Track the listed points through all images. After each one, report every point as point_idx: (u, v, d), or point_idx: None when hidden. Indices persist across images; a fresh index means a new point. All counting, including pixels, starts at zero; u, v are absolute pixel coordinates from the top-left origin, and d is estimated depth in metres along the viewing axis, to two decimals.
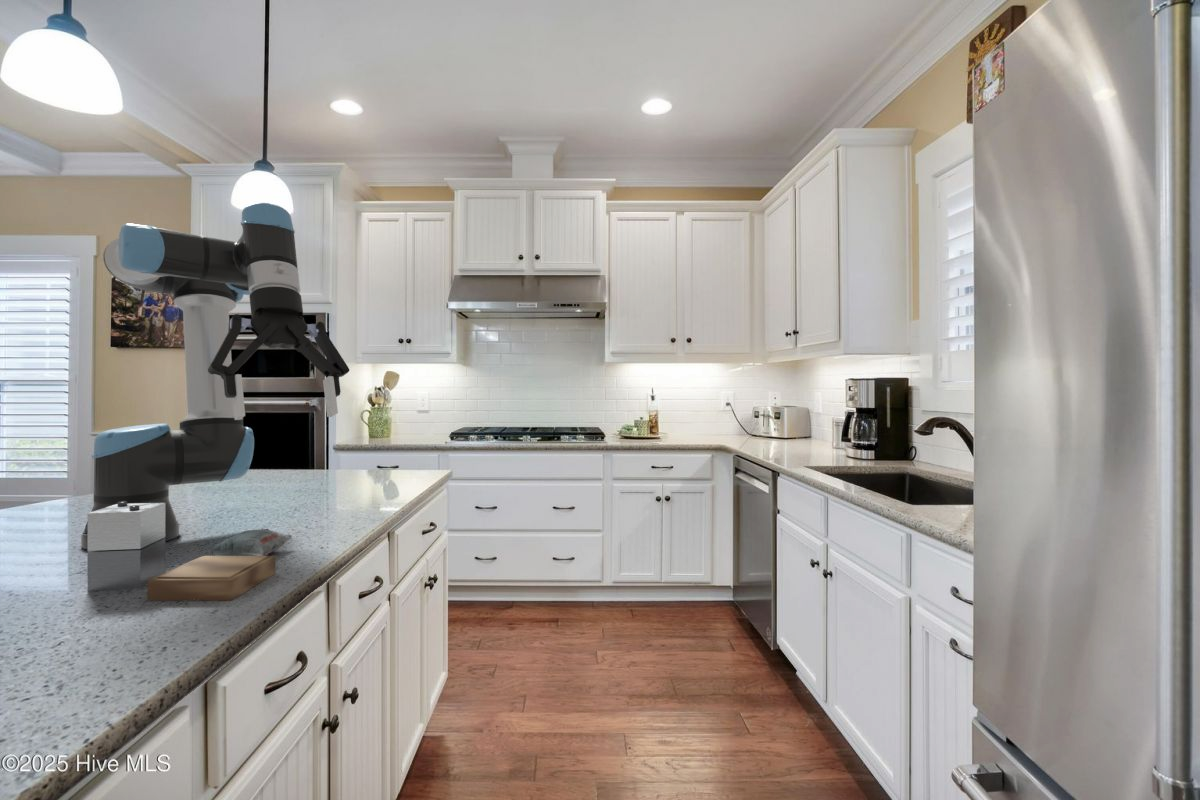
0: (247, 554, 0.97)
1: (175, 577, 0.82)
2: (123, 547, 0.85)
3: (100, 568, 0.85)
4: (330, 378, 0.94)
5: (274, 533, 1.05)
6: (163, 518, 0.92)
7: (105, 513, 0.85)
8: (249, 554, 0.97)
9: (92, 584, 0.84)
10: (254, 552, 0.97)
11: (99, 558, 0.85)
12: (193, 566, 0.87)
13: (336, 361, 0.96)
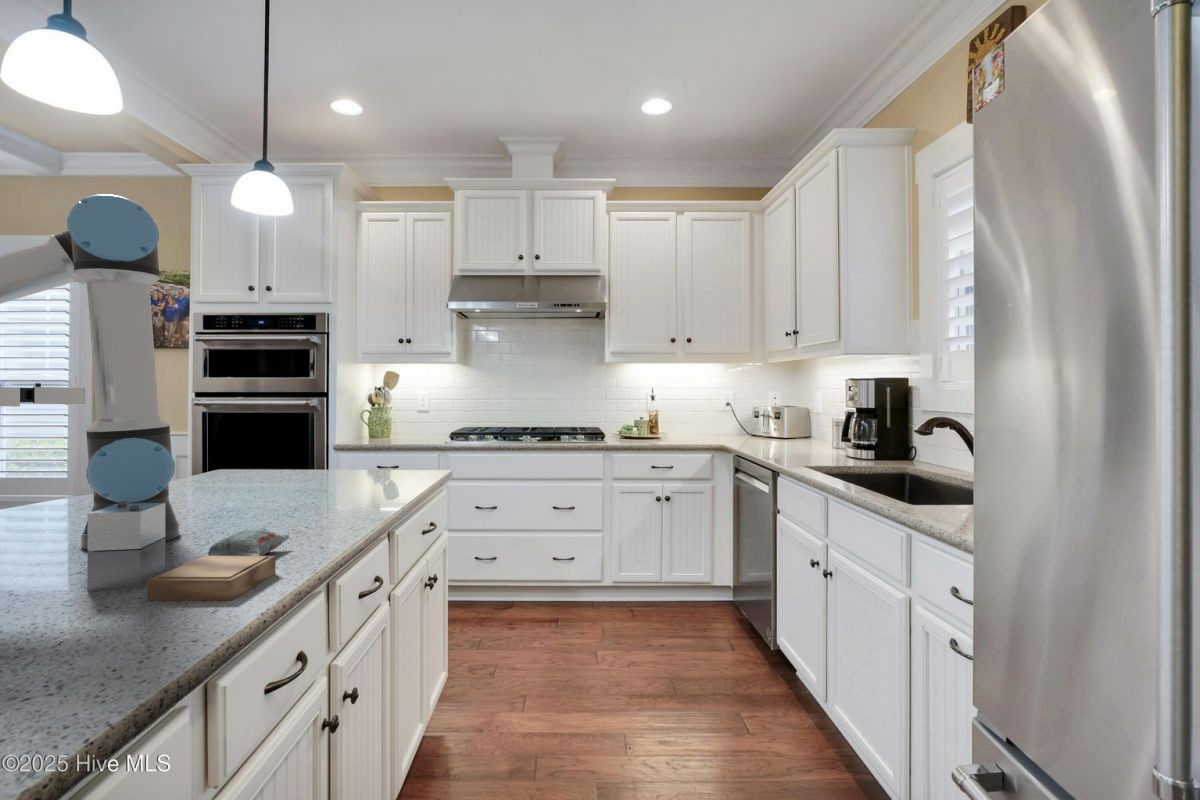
0: (244, 554, 0.97)
1: (175, 577, 0.82)
2: (123, 547, 0.85)
3: (100, 568, 0.85)
4: None
5: (271, 533, 1.05)
6: (163, 518, 0.92)
7: (105, 513, 0.85)
8: (246, 554, 0.97)
9: (92, 584, 0.84)
10: (251, 552, 0.97)
11: (99, 558, 0.85)
12: (193, 566, 0.87)
13: None
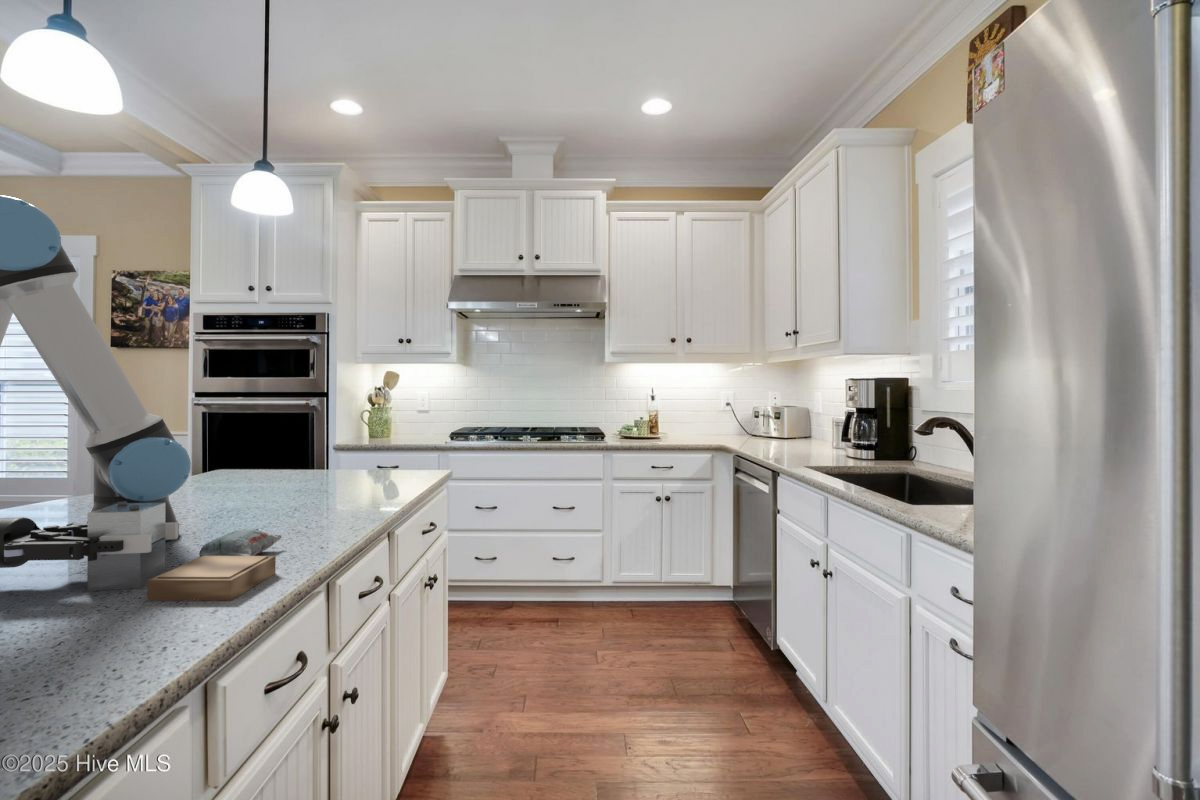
0: (235, 554, 0.97)
1: (175, 577, 0.82)
2: None
3: (100, 568, 0.85)
4: (105, 553, 0.85)
5: (263, 533, 1.04)
6: (163, 518, 0.92)
7: (105, 513, 0.85)
8: (237, 554, 0.97)
9: (92, 584, 0.84)
10: (242, 552, 0.97)
11: (99, 558, 0.85)
12: (193, 566, 0.87)
13: None
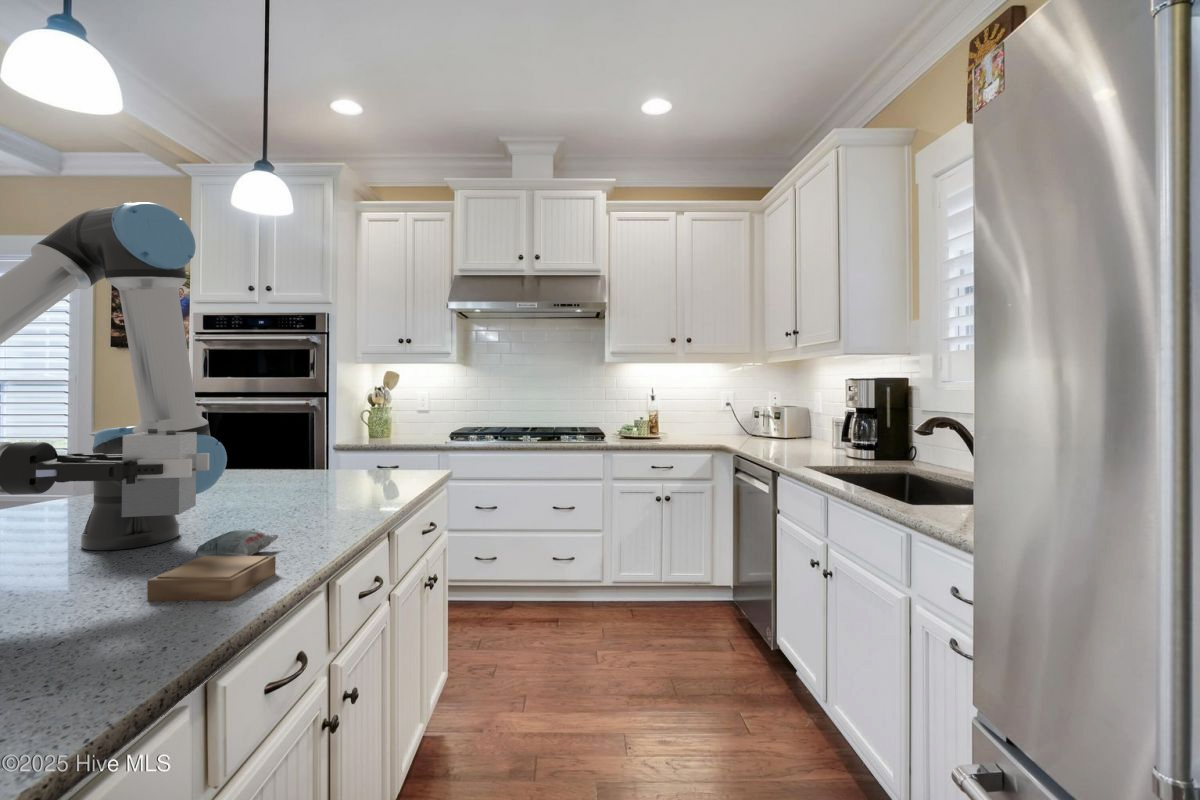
0: (231, 554, 0.97)
1: (175, 577, 0.82)
2: None
3: (135, 493, 0.81)
4: (142, 477, 0.81)
5: (260, 533, 1.04)
6: (195, 448, 0.89)
7: (142, 436, 0.81)
8: (233, 554, 0.97)
9: (126, 510, 0.81)
10: (238, 552, 0.97)
11: None
12: (193, 566, 0.87)
13: None
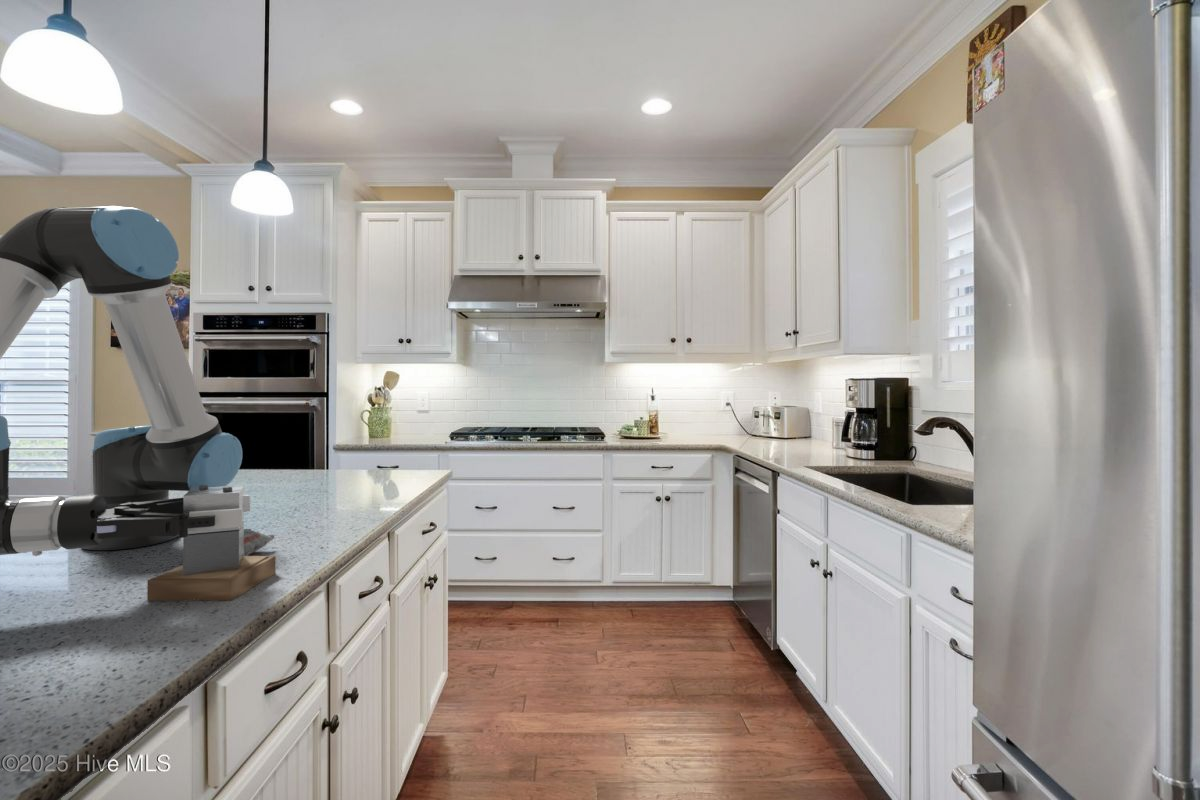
0: None
1: (175, 577, 0.82)
2: (221, 529, 0.84)
3: (197, 551, 0.83)
4: None
5: (256, 533, 1.04)
6: (243, 501, 0.91)
7: (202, 495, 0.83)
8: None
9: (187, 568, 0.83)
10: None
11: (195, 541, 0.83)
12: None
13: None
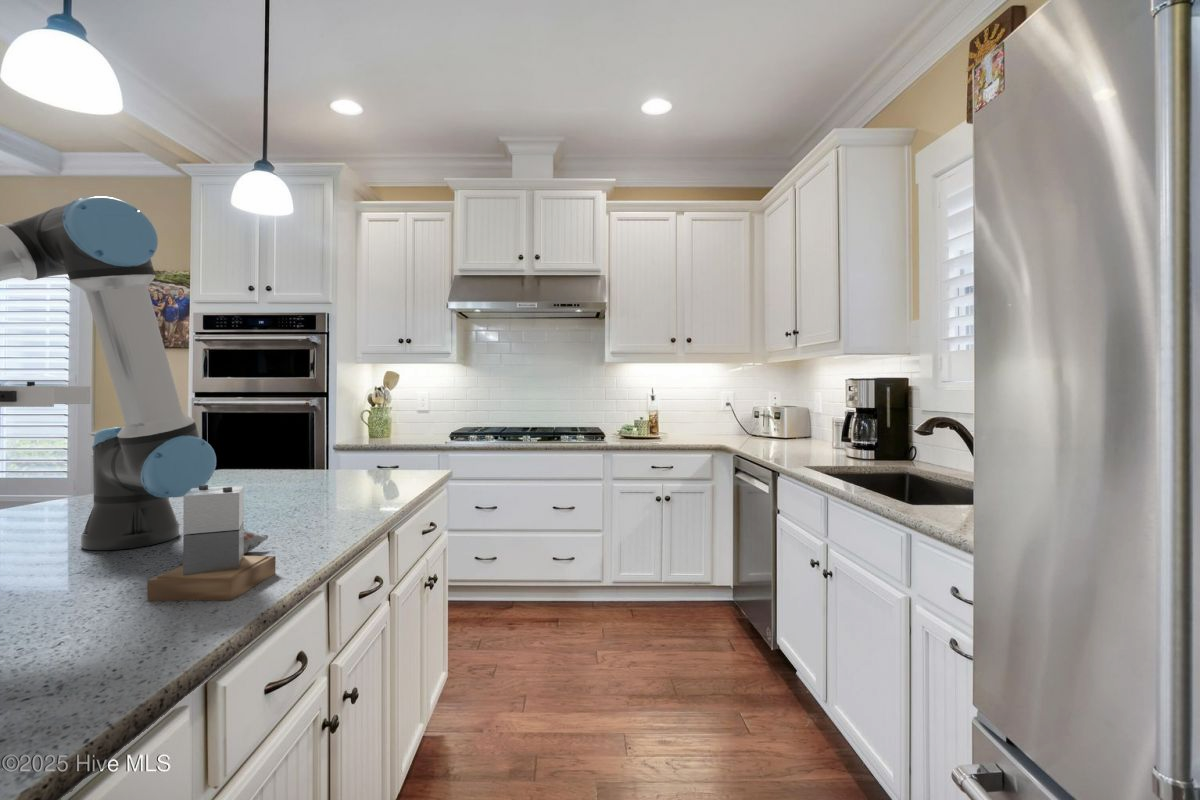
0: None
1: (175, 577, 0.82)
2: (221, 529, 0.84)
3: (197, 551, 0.83)
4: None
5: (250, 533, 1.04)
6: (243, 501, 0.91)
7: (202, 495, 0.83)
8: None
9: (187, 568, 0.83)
10: None
11: (195, 541, 0.83)
12: None
13: None
